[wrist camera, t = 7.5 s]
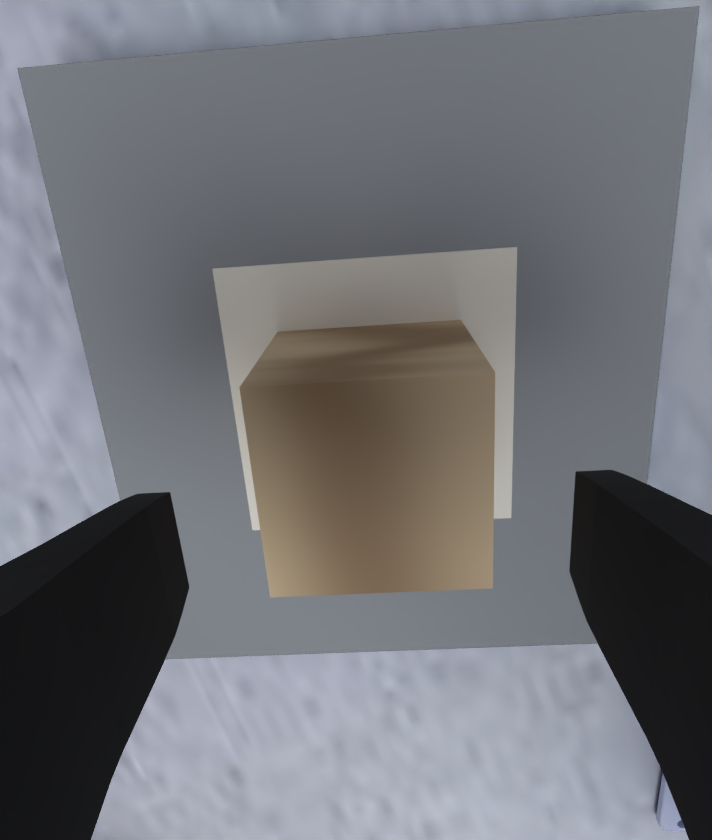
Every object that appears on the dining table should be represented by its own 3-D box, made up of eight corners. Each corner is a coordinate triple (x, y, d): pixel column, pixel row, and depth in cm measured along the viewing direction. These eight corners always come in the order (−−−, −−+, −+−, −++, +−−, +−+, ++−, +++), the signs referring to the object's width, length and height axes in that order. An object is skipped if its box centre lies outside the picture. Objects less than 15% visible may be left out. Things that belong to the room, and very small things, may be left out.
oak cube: (460, 319, 16) (495, 372, 12) (462, 485, 18) (492, 588, 13) (277, 331, 17) (239, 387, 12) (296, 493, 18) (269, 597, 14)
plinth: (652, 32, 16) (701, 5, 14) (602, 595, 22) (630, 644, 20) (66, 84, 17) (15, 67, 14) (180, 612, 23) (157, 661, 21)
